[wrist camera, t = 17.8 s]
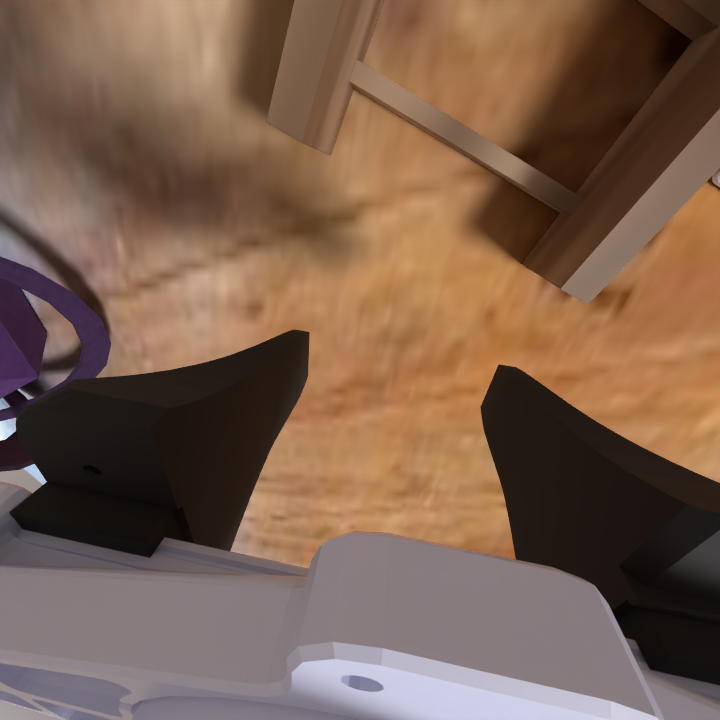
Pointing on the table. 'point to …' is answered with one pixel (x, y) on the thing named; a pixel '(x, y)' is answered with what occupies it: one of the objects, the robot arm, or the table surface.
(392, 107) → the brown wooden frame
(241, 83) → the table surface
